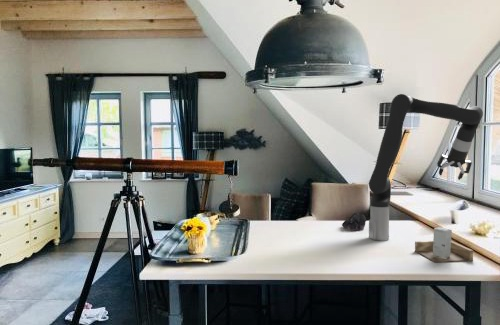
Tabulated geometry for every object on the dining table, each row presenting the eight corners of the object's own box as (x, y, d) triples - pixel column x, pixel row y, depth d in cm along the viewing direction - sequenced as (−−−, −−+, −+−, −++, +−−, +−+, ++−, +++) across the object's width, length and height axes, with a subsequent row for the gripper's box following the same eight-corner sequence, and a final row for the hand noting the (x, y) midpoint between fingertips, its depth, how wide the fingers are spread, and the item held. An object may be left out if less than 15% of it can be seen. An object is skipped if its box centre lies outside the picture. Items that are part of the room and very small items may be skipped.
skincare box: (432, 254, 180) (432, 227, 180) (438, 253, 182) (439, 226, 182) (444, 258, 175) (445, 230, 174) (451, 256, 177) (452, 229, 176)
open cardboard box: (435, 262, 171) (435, 252, 171) (414, 251, 188) (415, 241, 188) (472, 261, 173) (473, 250, 173) (449, 249, 190) (449, 240, 190)
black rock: (338, 231, 232) (339, 214, 231) (344, 224, 244) (345, 208, 242) (361, 235, 226) (362, 218, 224) (367, 228, 238) (368, 212, 236)
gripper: (475, 147, 193) (464, 176, 201) (444, 141, 197) (433, 169, 204) (478, 154, 187) (465, 184, 195) (445, 147, 190) (434, 176, 198)
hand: (449, 176), depth 200 cm, fingers open, 8 cm apart
